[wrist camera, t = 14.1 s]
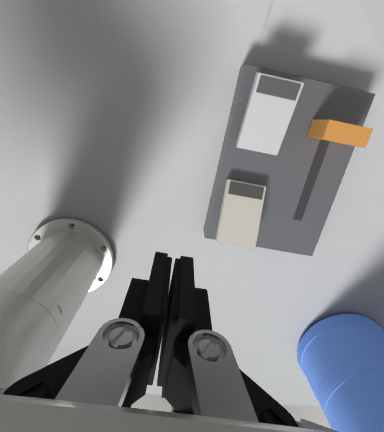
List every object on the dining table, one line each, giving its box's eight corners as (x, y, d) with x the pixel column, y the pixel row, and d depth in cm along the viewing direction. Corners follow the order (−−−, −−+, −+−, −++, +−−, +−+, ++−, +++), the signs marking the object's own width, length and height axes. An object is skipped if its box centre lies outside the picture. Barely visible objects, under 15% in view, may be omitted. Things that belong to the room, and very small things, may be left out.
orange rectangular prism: (344, 144, 33) (365, 147, 29) (307, 136, 33) (322, 138, 29) (351, 127, 33) (372, 129, 29) (312, 119, 32) (329, 119, 28)
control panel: (303, 246, 42) (315, 259, 38) (203, 229, 40) (205, 240, 37) (359, 96, 34) (381, 93, 31) (240, 68, 33) (247, 62, 29)
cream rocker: (252, 247, 35) (255, 248, 34) (215, 240, 35) (217, 241, 33) (263, 187, 35) (266, 186, 34) (226, 180, 35) (228, 178, 33)
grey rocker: (274, 152, 33) (277, 155, 32) (235, 144, 33) (237, 147, 32) (300, 81, 29) (304, 83, 28) (256, 71, 29) (258, 72, 27)
